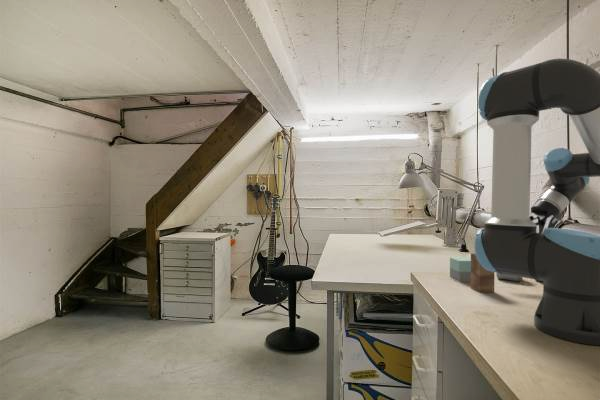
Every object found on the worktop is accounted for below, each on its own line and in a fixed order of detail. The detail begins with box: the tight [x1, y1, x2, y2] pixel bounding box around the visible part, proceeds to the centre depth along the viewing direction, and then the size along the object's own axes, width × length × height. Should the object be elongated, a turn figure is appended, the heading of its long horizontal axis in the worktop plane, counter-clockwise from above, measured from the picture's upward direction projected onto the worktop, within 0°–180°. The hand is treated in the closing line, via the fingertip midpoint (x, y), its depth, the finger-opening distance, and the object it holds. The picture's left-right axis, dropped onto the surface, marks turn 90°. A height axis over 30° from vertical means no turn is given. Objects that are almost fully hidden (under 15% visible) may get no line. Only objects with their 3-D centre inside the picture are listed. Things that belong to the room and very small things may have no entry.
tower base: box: [449, 267, 471, 283], centre depth 124 cm, size 7×7×4 cm
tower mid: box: [449, 257, 471, 272], centre depth 124 cm, size 7×7×4 cm
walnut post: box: [470, 252, 495, 294], centre depth 109 cm, size 5×5×12 cm
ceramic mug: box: [495, 272, 523, 282], centre depth 125 cm, size 10×8×7 cm
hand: (506, 251), depth 110 cm, fingers open, 13 cm apart
